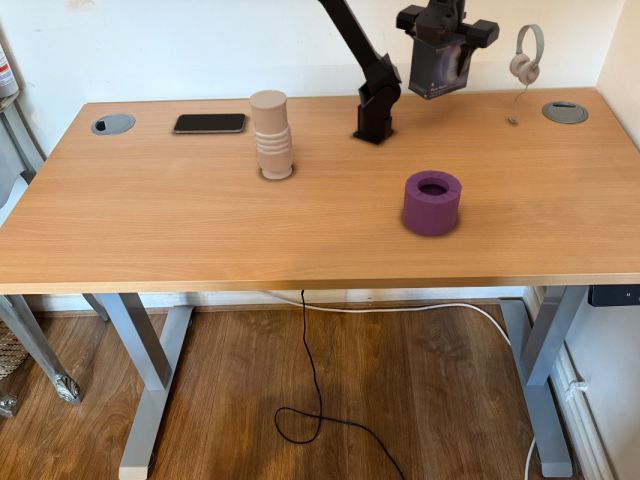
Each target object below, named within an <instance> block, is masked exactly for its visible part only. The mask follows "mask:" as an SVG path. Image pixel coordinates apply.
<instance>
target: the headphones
mask: <svg viewBox="0 0 640 480" xmlns="http://www.w3.org/2000/svg"><path fill="white" fill-rule="evenodd" d="M529 29H531V30H532V32H533V35H534V37H535V45H536V46H535V47H536V48H535V49H536V52H535V53H536V54H535V58H533V60H531V58H530V57H529V56H528V55H527V54H526V53H524V51H523V41H524V37H525V36H526V33H527V32H528V30H529ZM544 51H545V37H544V33H543V30H542V28H541V27H540V26H539V25H538V24H536V23H532V24H531V23H530V24H525V25H523V26H522V27H521V28H520V29H519V31H518V33H517V38H516V50H515V55H514V56H513V57H512V59H511V60H510V63H509V72H510V74H511V75H512V76H513V77H515V78H517V79H518V81H519V82H520V83H521V84H522V85H524V86H526V87H525V90H524V91H522V92H520V93H519V94H518V95H517V96H516V97H515V99H514V104H513V105H514V112H515V119H514V121H513V120H512V118H511V116H509V117H508V118H509V121H510V123H513V124H515V123H516V121H517V119H518V113H517V106H516V102H517V99H518V97H520V96H521V95H522V94H525V93H526V91H527V89H528V87H529V86H530V85H532V84H534V83H535V82H536V81H537V79H538V78H539V76H540V71H541V69H540V65H539V64H540V62H541V59H542V57H543V54H544Z"/></svg>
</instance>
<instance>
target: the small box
mask: <svg viewBox="0 0 640 480" xmlns="http://www.w3.org/2000/svg"><path fill="white" fill-rule="evenodd" d="M412 40H413V42H412V51H411V61H410V62H411V63H410V69H409V70H410V72H409V79H408V87H407V89H408V90H409V91H411V92H413V93H414V94H416V95H417V96H419V97H420V98H422V99H424V101H425V100H426V101H430V100H432V99H436V98H439V97H442V96H444V95H447V94H450V93H453V92H457V91H459V90H461V89H465V88H467V85H468V81H469V80H468V79H469V75H470V68H471V63H472V56H473V55H472V56H471V58H470V60H469V62H468V63H467V65H466V67H465V69H464V71H463V72H462V74H461V76H459V77H457V69H458V64H459V59H460V54H461V49H460V45H461V44H462V43H463V42H465V41H466V36H465V35H461V34H457V33H453V35H452V36H448V35H445V36H443V38H442V40H441V41H439V42H437V43H433V42H431V41H429V40H425V39H422V40H421V39H418V38H417V36H414V39H412Z"/></svg>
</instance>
